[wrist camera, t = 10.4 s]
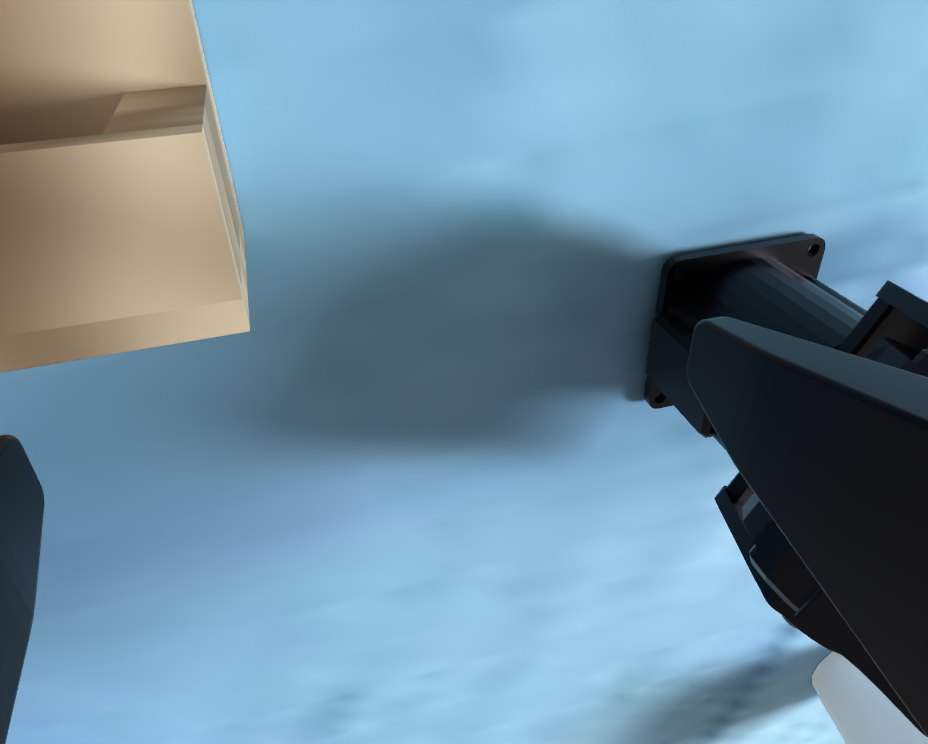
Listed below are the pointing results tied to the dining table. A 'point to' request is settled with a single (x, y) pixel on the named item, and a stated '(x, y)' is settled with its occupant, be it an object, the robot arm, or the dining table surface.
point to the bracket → (112, 184)
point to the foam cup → (860, 706)
